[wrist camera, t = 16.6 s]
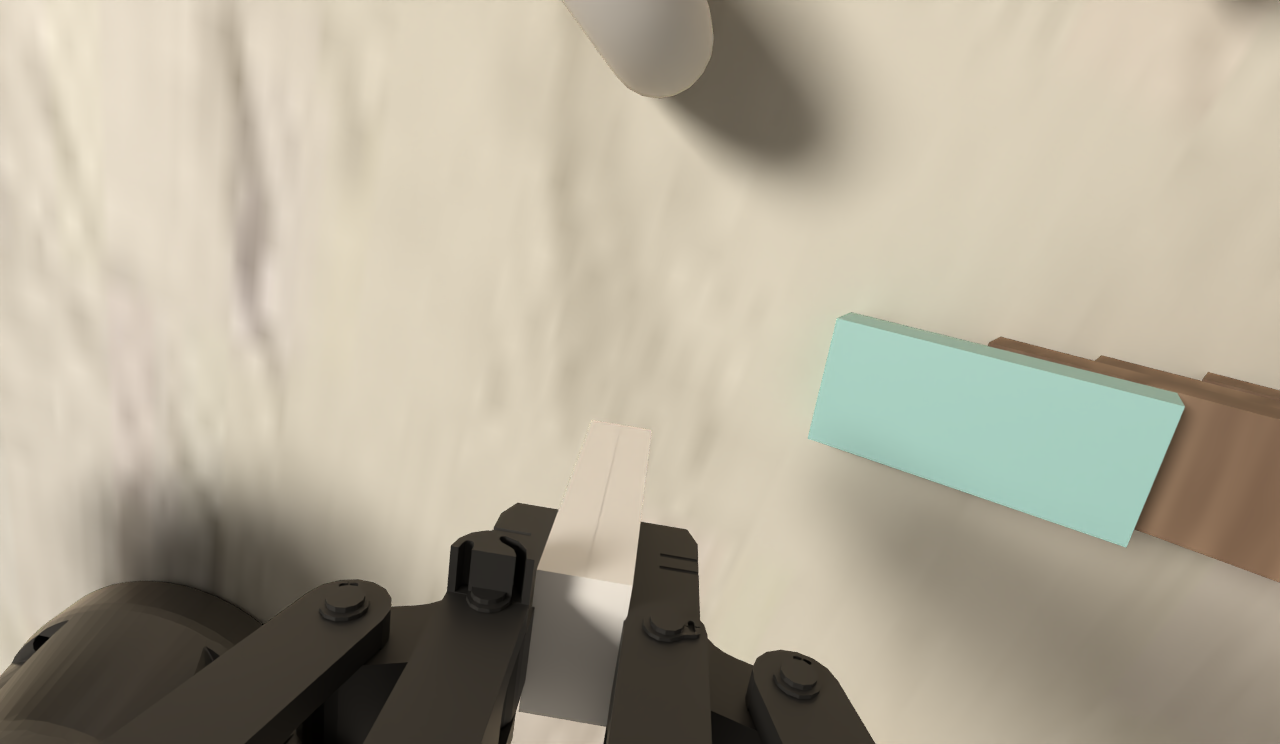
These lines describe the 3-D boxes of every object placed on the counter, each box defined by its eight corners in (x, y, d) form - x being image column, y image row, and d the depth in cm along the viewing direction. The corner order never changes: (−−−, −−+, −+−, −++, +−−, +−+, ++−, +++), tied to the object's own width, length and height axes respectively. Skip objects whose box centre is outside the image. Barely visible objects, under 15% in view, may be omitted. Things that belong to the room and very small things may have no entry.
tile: (807, 438, 28) (1126, 547, 23) (837, 318, 27) (1185, 406, 21) (822, 426, 30) (1122, 525, 25) (851, 312, 28) (1176, 392, 23)
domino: (951, 462, 28) (1311, 594, 22) (988, 342, 26) (1387, 448, 20) (964, 450, 29) (1304, 570, 23) (1000, 336, 28) (1374, 433, 22)
